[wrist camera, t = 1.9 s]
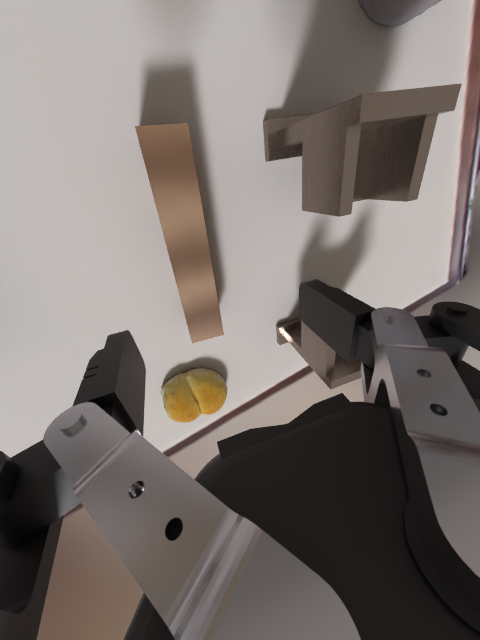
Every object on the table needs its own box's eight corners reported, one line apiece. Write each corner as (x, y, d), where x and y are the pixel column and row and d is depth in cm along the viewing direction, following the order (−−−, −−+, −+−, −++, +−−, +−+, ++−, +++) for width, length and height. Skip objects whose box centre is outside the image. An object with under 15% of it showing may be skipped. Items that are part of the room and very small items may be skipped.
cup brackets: (263, 121, 21) (348, 71, 12) (348, 111, 22) (480, 61, 13) (277, 341, 34) (322, 398, 25) (330, 324, 36) (389, 371, 27)
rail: (138, 137, 19) (134, 126, 15) (181, 134, 20) (188, 122, 16) (187, 322, 28) (192, 343, 25) (214, 315, 29) (223, 334, 25)
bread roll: (227, 396, 37) (234, 417, 34) (170, 415, 35) (172, 439, 32) (220, 357, 33) (227, 377, 29) (154, 376, 31) (155, 399, 27)
